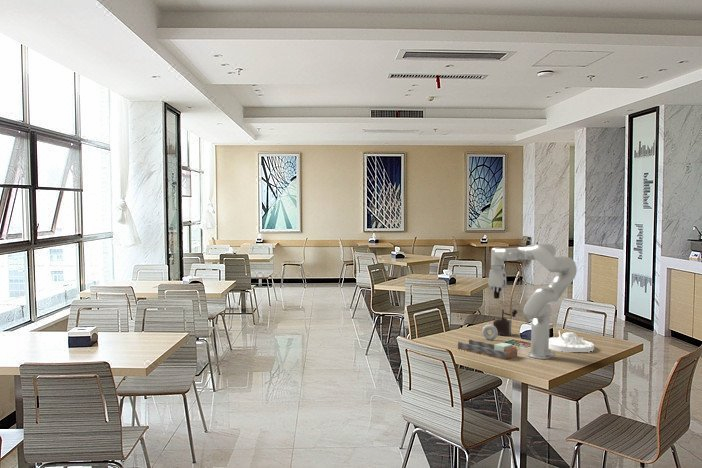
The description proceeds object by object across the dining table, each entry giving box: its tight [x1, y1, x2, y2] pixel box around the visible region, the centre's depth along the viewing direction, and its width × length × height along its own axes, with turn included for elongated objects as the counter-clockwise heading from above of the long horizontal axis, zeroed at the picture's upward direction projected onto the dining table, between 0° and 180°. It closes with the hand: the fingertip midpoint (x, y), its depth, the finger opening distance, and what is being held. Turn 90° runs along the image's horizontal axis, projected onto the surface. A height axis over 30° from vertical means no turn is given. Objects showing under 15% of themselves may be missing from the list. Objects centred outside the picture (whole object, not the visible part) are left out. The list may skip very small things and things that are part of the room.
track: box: [457, 339, 518, 361], centre depth 320 cm, size 32×12×6 cm, turn 42°
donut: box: [481, 323, 499, 341], centre depth 353 cm, size 10×4×10 cm, turn 62°
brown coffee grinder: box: [492, 309, 518, 337], centre depth 369 cm, size 16×11×18 cm
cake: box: [549, 330, 595, 353], centre depth 336 cm, size 28×28×10 cm
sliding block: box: [494, 342, 513, 352], centre depth 312 cm, size 6×9×5 cm
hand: (496, 298), depth 335 cm, fingers closed
